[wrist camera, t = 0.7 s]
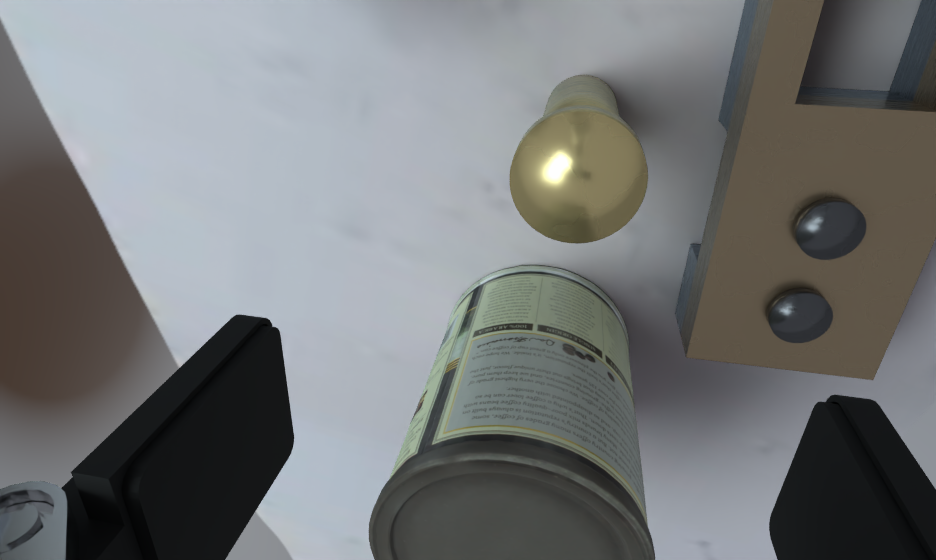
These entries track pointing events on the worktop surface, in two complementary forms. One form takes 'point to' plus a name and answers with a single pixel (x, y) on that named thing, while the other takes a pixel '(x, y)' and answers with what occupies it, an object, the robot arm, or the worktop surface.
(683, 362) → the worktop surface
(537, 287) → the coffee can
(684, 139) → the worktop surface
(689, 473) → the worktop surface
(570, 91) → the pin
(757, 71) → the peg hole board
